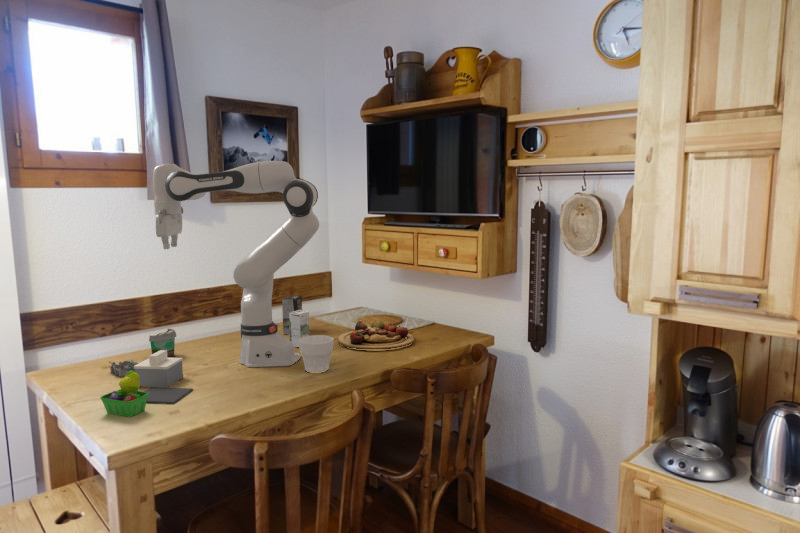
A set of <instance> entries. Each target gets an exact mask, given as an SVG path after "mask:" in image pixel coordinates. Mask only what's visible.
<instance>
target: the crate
mask: <svg viewBox="0 0 800 533" xmlns="http://www.w3.org/2000/svg"><path fill="white" fill-rule="evenodd" d="M135 371H137V374H138V375H139V382H140V387H142V388H143V387H144V388H145V387H148V388H151V387H162V388H170V387H171V386H172V385H174V384H175V383H177V382H178V381H179V380H181V379H183V378H184V373H183V372H184V371H183V360H182V361H181V362H179V363H177V364H175V365H174V366H172V367H170V368H169V369H135Z"/></svg>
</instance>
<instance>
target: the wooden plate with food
mask: <svg viewBox="0 0 800 533" xmlns="http://www.w3.org/2000/svg"><path fill="white" fill-rule="evenodd" d="M405 337H407V340H406V339H405ZM405 340H406V341H405ZM413 341H414V342H415V338H414V336H413V334H410V333H409V329H408V328H407V327H404V326H400V325H399V324H398V326H397V324H396V325H393V324H392V323H391V322H388V323H387V324H385V323H384V322H383V321H382V320H380V319H377V320H376V321H374V322H373V323H371V327H369V328H368V325H367V323H366V322H365V321H363V320H362V319H360V320H358V321H357V322H356V324H355V325H354V330H351V331H347V332H345V333H342V334H340V335H339V336H338V337H337V343H338V344H339V345H340V344H341V345H343V346H345V347H349V348H356V349H391V348H397V347H402V346H406V345H409V344H411V343H413ZM413 344H414V343H413ZM341 345H340V346H341ZM343 346H342V347H343ZM345 347H344V348H345Z"/></svg>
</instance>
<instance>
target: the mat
mask: <svg viewBox="0 0 800 533" xmlns="http://www.w3.org/2000/svg"><path fill="white" fill-rule="evenodd" d="M193 390H194V388H191V387H190V388H187V387H148V388H147V389H146V390H145V391H143V392H147V393H149V394H148V397H147V401H146V404H158V403H166V404H167V405H175V404H176V403H177V402H178V400H179V401H181V399H182V398H184V397H185V396H187V395H188V394H190V393H191V392H192V391H193ZM174 403H175V404H174ZM166 404H165V405H166Z"/></svg>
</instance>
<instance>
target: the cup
mask: <svg viewBox="0 0 800 533" xmlns="http://www.w3.org/2000/svg"><path fill="white" fill-rule="evenodd" d="M298 342H299V348H298V349H299V351H300V353H299V354H300V355H301V356H302V359H303V365H304V371H305V370H306V371H307V372H322V371H326V370H328V369H329V370H330V363H331V358H332V357H331V356H332V353H333V351H334V344H335V343H334V342H335V338H334V337H332V336H330V335H325V334H323V335H322V334H321V335H320V334H317V335H316V334H314V335H309V336H306V337H302V338H300V339H299V340H298ZM329 370H328V371H329ZM307 372H306V373H307Z"/></svg>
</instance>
